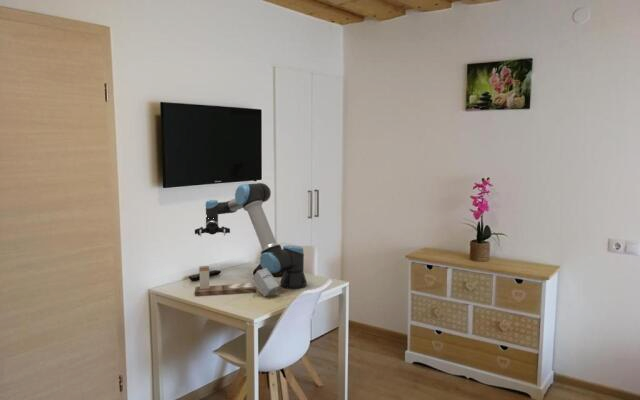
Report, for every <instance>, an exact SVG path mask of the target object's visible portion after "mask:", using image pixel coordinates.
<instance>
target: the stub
mask: <svg viewBox="0 0 640 400" xmlns="http://www.w3.org/2000/svg"><path fill="white" fill-rule="evenodd" d="M198 269H199V286H200V289H209V286H210V265H205V266H204V265H203V266H202V265H201V266H199V267H198Z"/></svg>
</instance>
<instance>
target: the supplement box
mask: <svg viewBox="0 0 640 400" xmlns="http://www.w3.org/2000/svg"><path fill="white" fill-rule="evenodd" d="M252 281H253V283H255V284H256V286H257V289H258V290H259V291H260V292H261V295H262V296H263V297H267V296H270V295H272V294H274V293H276V291H277V289H278V288H279V287H280V284H279V283H278V281H277V280H276V279H275V277H273V276H272V274H271V273H270V271H269V270H268V268H265V269H262V270H258V271H257V272H256V273H255V275H254V276H253V277H252Z"/></svg>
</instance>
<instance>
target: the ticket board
mask: <svg viewBox="0 0 640 400" xmlns="http://www.w3.org/2000/svg"><path fill="white" fill-rule="evenodd" d="M255 293H256V294H257V293H258V287H257V285H256V284H255V282H244V283H242V282H241V283H228V284H220V285H209V289H200V285H198V286H195V288H194V296H195V297H206V296H223V295H224V296H225V295H238V294H239V295H241V294H243V295H244V294H255Z"/></svg>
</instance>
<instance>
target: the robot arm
mask: <svg viewBox="0 0 640 400" xmlns="http://www.w3.org/2000/svg"><path fill="white" fill-rule="evenodd" d="M271 193H272V192H271V189H270V187H269V185H267V184H266V183H263V182H257V183H244V184H240V185H238V186H237V188H236V190H235V194H234V198H233V199H230V200H227V201H221V202H218V200H217V199H208V200H209V201H207V200H206V201H207V202H206V201H205V207H206V208H205V227H203V226H200V227H198V228H196V229H194V235H197V236H199V237H202V234H209V235H216V234H218V233H223V236H226V234H231V229H230V228H229V227H226V226H223V225H222V226H221V227H220V226H219V215H225V214H233V213H237V211H238V210H241V209H243V210H244V211H246V212H247V213H248V217H249V218H250V221H251V224H252V226H253V229H254V230H255V234H256V236H257V238H258V242H259V244H260V247H261V251H260V256H259V264H261V267H262V268H263V269H265V268H268V270H269V271H270V273H277V272H279V271H283V275H282V277H280V282H279V283H280V284H279V287H281V288H284V289H289V290H297V289H302V288H303V289H304V288H305V287H307V285H308V284H307V279H306V275H305V273H304V270H305V269H304V267H305V264H304V261H305V259H304V256H305V254H304V252H305V251H304V248H303V247H302V246H298V245H291V244H290V245H288V244H285V245H283V247H282V245H281V244H280V243H277V241H276V238H275V236H274V233H273V231H272V228H271V226H270V224H269V221H268V219H267V216H266V214H265V211H264V208H263V204H264V203H266V202H267V201H269V200H270V198H271ZM206 215H207V217H206ZM208 218H209V219H208ZM213 218H214V219H213Z"/></svg>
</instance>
